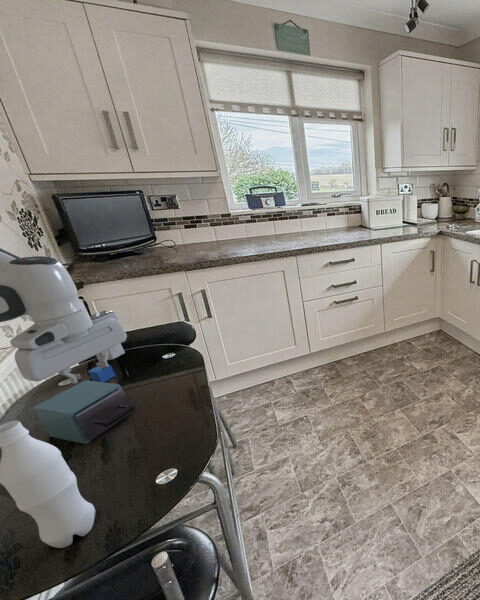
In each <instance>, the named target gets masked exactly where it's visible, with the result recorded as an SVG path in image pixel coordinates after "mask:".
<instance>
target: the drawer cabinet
mask: <svg viewBox="0 0 480 600" xmlns="http://www.w3.org/2000/svg"><path fill="white" fill-rule="evenodd" d="M118 389H122V387H121V385H120V384H118V383H111V382H96V381H92V380H89V379H88V380H87V379H85V380H82V381H80V382H78V383H76V384H75V385H73V386H72V387H70V388H68V389H66V390H64V391H62V392H60V393H58V394H56V395H54V396H53V397H50V398H49V399H47V400H44V401H43V402H41V403H39V404H37V405H35V406H32V409H33V410H34V412H35V414H36V416H37V417H38V419H39V420H40V422H41V424H42V425H43V427H44V429H45V430H46V432H47V433H48V435H49V436H50V437H51V438H54V439H55V438H56V439H59V440H66V441H70V442H75V443H80V444H84V445H87V444H88V443H89V442H91V441H92V440H88V439H87V437H86V436H85V434H84V432H83V430H82V428H81V427H80V425H79V423H78V421H77V419H76V418H75V416H74V414H75V413H76V412H78V411H80V410H82V409H83V408H85V407H87V406H88V405H90V404H92V403H93V402H95V401H97V400H99V399H100V398H102V397H104V396H105V395H107V394H109V393H111V392H112V391H114V392H115V391H117V390H118Z"/></svg>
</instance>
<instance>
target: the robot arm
mask: <svg viewBox="0 0 480 600" xmlns="http://www.w3.org/2000/svg"><path fill="white" fill-rule="evenodd" d="M78 293H79V292H78V288H77V286H76V284H75V283H74V280H73V278H72V276H71V275H70V273H69V271H68V270H67V269H66V267H65V265H64V264H62V262H60V261H59V259H57V258H54V257H51V256H45V255H44V256H41V255H38V256H37V255H36V256H35V255H34V256H24V257H20V256H19V255H16V254H14V253H12V252H10V251H7V250H5V249H3V248H1V247H0V323H5V322H10V321H13V320H16V319H18V318H20V317H23V316H24V317H25V316H29V317H31V319H32V322H33V323H34V324H32V325H30V326H29V327H28V328H27V329H25V330H23V331H22V332H21V333H19V334H17V335H16V336H14V337H12V339H10V341H9V344H10V345H11V346H12V347H13V348H14V349H15V348H16V349H17V350H16V351H15V353H14V361H15V364H16V366H17V369H18V371H19V373H20V375H21V376H22V378H23V379H24V380H26V381H31V382H41V381H43V380H46V379H48V378H49V377H52V376H54V375H56V374H59V375H61V376H63V377H66V378H68V379H69V382H70V383H71V384H73V385H74V384H75V385H77V384H79V383H80V382H82V381H83V377H82V375H81V374H80V373H71V372H72V369H71V368H72V367H73V366H75V365H77V364H79V363H82V362H83V361H86V360H88V359H91V358H92V357H95V356H96V355H100V358H99V360H98V361H97V362H95V365H96V367H97V366H98V369H102V370H103V369H105V368H107V367H109V365H110V364H109V363H108V360H107V359H108V354H109V352H108V350H107V349H109V348H111V347H114V346H116V345H118V344H120V343H121V344H122V343H124V342H126V341H127V338H128V335H127V333H126V330H125V329H124V327H123V326H122V324H121V323H120V322H119V318H118V315H117V313H115V312H114V311H113V310H107V309H106V310H102V311H100V312H97V313H94V314H91V315H90V314H89V312H88V309H87V307H86V306H85V304H84V303H83V302H82V301H81V300H80V297H79V294H78Z"/></svg>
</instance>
